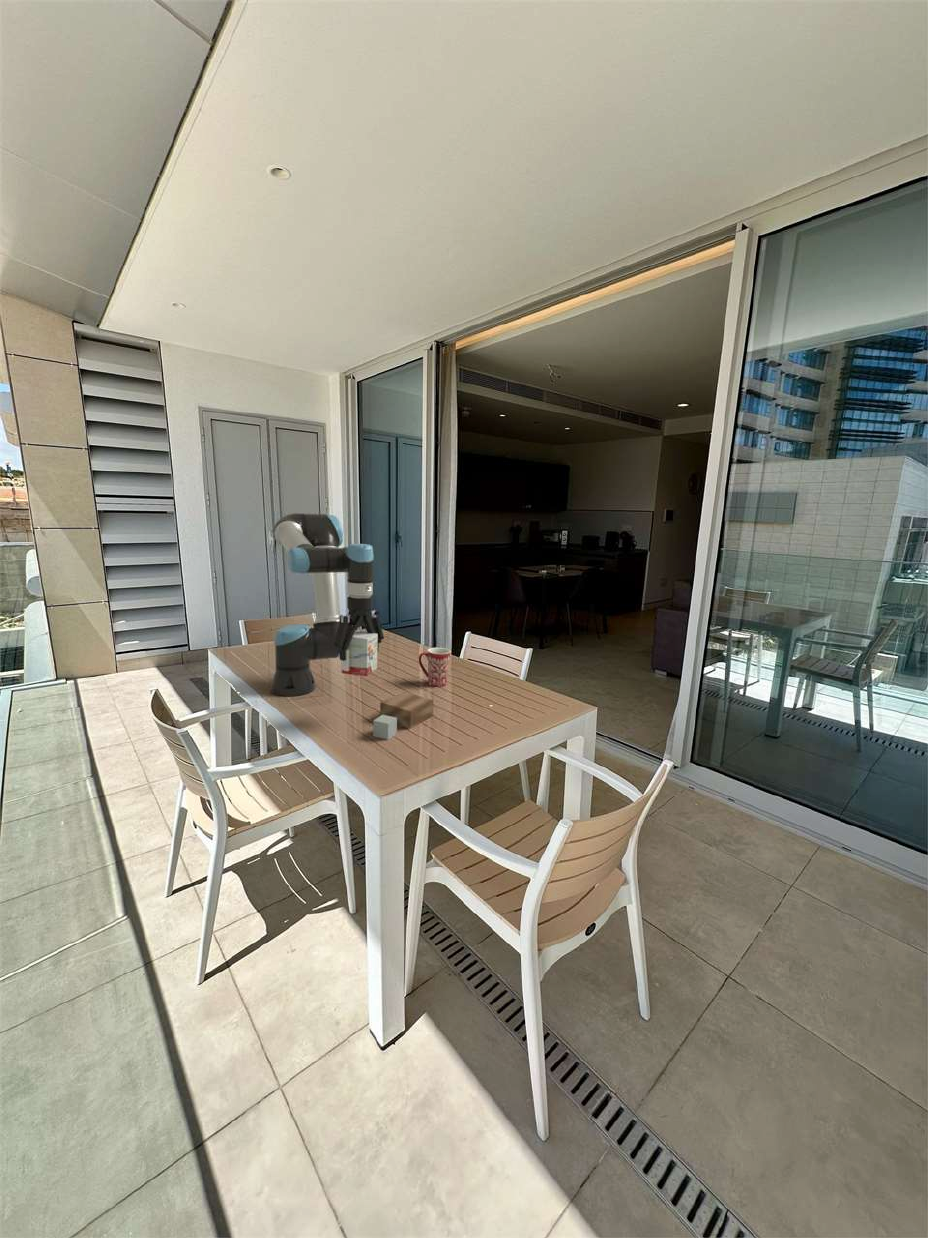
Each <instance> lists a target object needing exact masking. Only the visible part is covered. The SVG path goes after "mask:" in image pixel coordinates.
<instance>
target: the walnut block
mask: <svg viewBox="0 0 928 1238" xmlns="http://www.w3.org/2000/svg"><path fill="white" fill-rule="evenodd" d="M379 706H380V709H379V713H380V714H379V717H380V716H381V715H386V716H391V717H396V718H397V726H400V727H404V728H407V729H413V728H415V727H416V726H418V725H420V724H422V723H424V722H426V721H427V720H429V719H431V718H433V716H434V699H430V698H428V697H427V698H426V697H425V696H421V695H416V694H412V693H409V692H407V691H406V692H405V691H403V692H401V693H398V694H396V695H394V696H391V697H389V698H387V699H385V700H382V701H380V704H379Z"/></svg>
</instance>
